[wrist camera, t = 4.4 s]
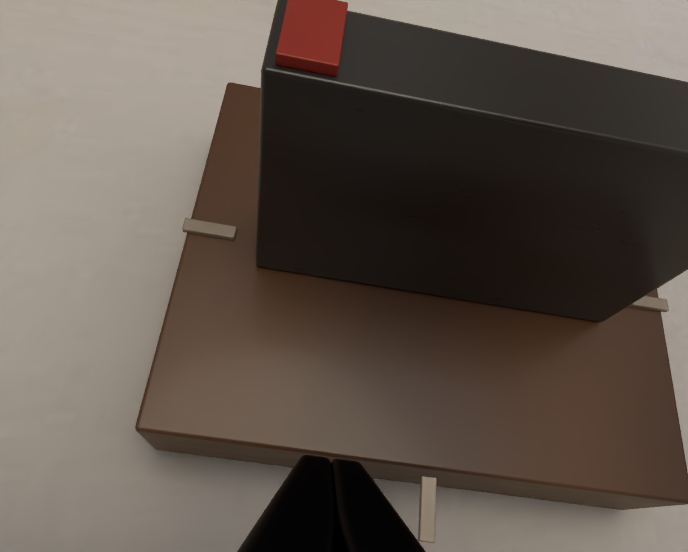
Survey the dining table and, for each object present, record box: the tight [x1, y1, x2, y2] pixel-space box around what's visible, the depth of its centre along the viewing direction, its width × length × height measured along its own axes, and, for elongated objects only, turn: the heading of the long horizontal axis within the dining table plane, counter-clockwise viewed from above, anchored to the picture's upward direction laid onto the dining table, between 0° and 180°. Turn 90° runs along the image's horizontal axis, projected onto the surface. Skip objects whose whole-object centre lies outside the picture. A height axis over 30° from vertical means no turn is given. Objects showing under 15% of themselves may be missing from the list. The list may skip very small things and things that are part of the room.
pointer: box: [256, 0, 688, 322], centre depth 13 cm, size 10×2×7 cm, turn 84°
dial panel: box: [135, 82, 688, 543], centre depth 17 cm, size 14×14×3 cm
